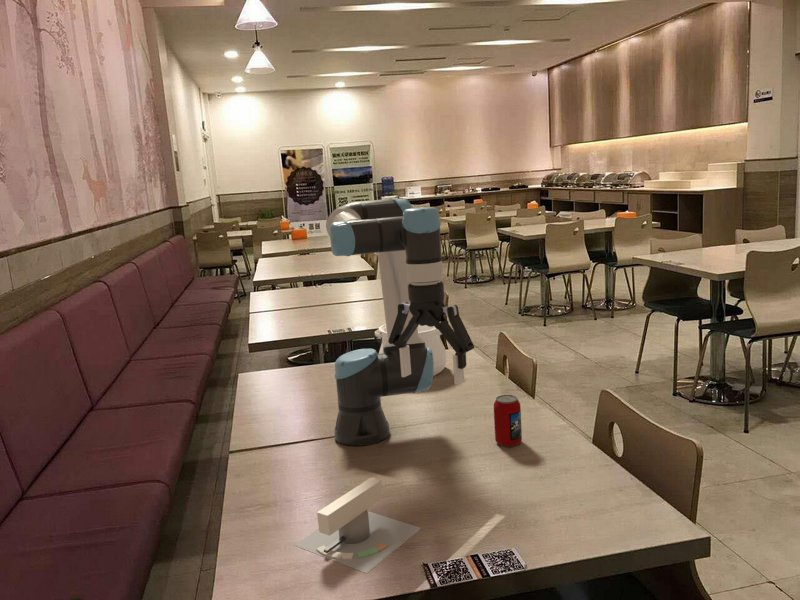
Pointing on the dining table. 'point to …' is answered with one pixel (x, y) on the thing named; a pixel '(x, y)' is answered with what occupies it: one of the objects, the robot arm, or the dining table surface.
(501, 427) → the beverage can
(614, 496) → the dining table surface
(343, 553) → the tuner board
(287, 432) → the dining table surface
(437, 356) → the pot
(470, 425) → the dining table surface
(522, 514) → the dining table surface
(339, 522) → the rotary bar knob
